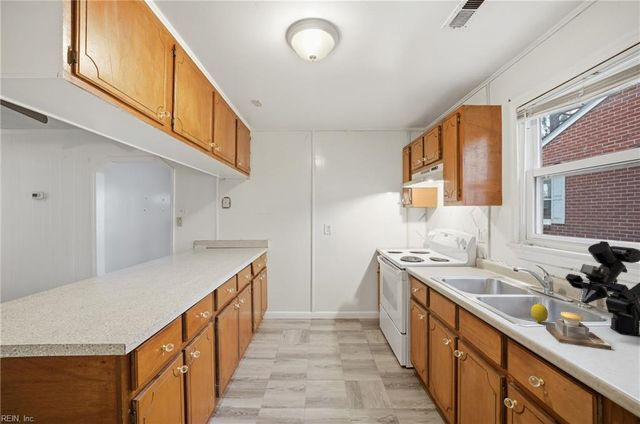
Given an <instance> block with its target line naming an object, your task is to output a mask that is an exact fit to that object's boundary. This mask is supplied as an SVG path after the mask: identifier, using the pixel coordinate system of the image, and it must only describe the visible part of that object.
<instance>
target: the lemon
mask: <svg viewBox="0 0 640 424" xmlns="http://www.w3.org/2000/svg"><path fill="white" fill-rule="evenodd" d="M530 315H531V317H532V318H533V319H534V320H535V321H537V323H538V324H539V323H540V324H541V323H542V322H545V321H547V319H548V317H549V312H548V308H547V306H545V305H544V304H542V303H541V302H539V303H535V304H534V305H532V306H531V309H530Z"/></svg>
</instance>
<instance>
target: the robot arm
mask: <svg viewBox="0 0 640 424" xmlns="http://www.w3.org/2000/svg"><path fill="white" fill-rule="evenodd" d="M587 250H588V252H589V253H590V255H591V257H592V258H593V259H594V260H595V262H596V263H598V264H600V265H599V266H595V265H592V264H591V265H590V264H585V263H583V264H582V266H581V268H580V271H579V272H580V273H581V274H584V275H585V278H582V276H581V275H580V274H579V275H578V274H574V273H567V275H565V278H564V279H565V280H566V281H567V283H569V284H570V286H571V287H572V288H575V289H578V290H583V292H582V298H581V302H582V304H585V305H586V304H587V305H588V304H589V303H592V302H595V301H598V300H601V299H605V306H606V309H607V313H608V314H609V313H610V314H612V317H611V318H610V321H611V322H610V326H609V328H610V329H611V330H612V331H615V332H616V333H618V334H619V335H626V336H636V337H640V281H639V282H638V283H637V284H635V285H634V286H632V287H631V288H629V287H628V286H627V285H626V284H621V283H618V279H617V278H618V277H619V276H620V275H621V273H624V274H625V273H628V269H627V266H626V265H625V264H624V263H628V264H633V263H639V262H640V249H638V248H634V247H630V246H629V247H627V246H618V245H617V246H616V245H610V243H609V242H608V241H605V240H604V241H603V240H600V242H597V243H594V244H591V245H589V247H588V249H587Z"/></svg>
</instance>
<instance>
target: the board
mask: <svg viewBox="0 0 640 424" xmlns="http://www.w3.org/2000/svg"><path fill="white" fill-rule="evenodd" d="M554 320H555V321H554V323H555V326H549V325H548V326H547V325H546V326H545V330H546V331H547V332H548V333H549V334H550V335H551V336H552V337H553V338H554V339H555V340H556V341H557V342H558V343H562V344H567V343H568V344H569V345H575V346H582V347H589V348H594V349H595V348H596V349H602V350H608V351H609V350H610V351H611V350H612V345H611V344H609V343H608V342H607V341H605V340H604V339H602V338H601V337H599V336H598V335H596V334H595V333H594V332H593V331H590V328H589V327H587V326H586V325H585V324H583V323H582V322H581V321H579V327H578V326H571V325H566V324H564V319H563V318H555V319H554Z"/></svg>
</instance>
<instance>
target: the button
mask: <svg viewBox="0 0 640 424" xmlns="http://www.w3.org/2000/svg"><path fill="white" fill-rule="evenodd" d="M560 316H561V317H562V318H564V324H566V325H571V326H578V327H579V322H581V321H583V320H584V316H583V315H581V314H579V313H574V312H569V311H561V312H560Z"/></svg>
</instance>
